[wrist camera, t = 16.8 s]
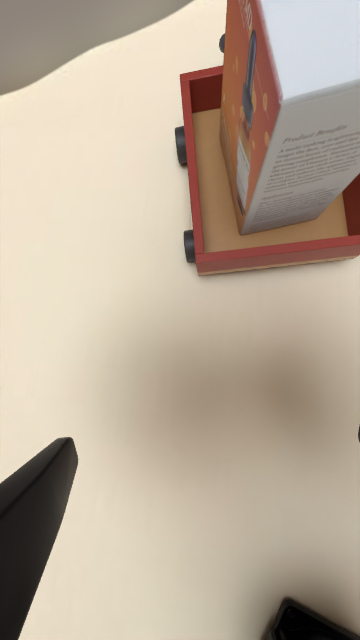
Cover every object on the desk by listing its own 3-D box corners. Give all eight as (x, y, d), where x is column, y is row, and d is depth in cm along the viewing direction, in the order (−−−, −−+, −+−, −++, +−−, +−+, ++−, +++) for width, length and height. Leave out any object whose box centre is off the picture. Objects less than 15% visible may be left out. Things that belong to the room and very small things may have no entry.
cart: (355, 262, 19) (401, 239, 14) (189, 280, 20) (183, 264, 16) (326, 52, 20) (360, -29, 15) (173, 84, 21) (163, 18, 17)
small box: (218, 138, 18) (229, -118, 8) (293, 118, 18) (412, -187, 7) (238, 238, 18) (278, 102, 7) (317, 221, 17) (483, 46, 7)
